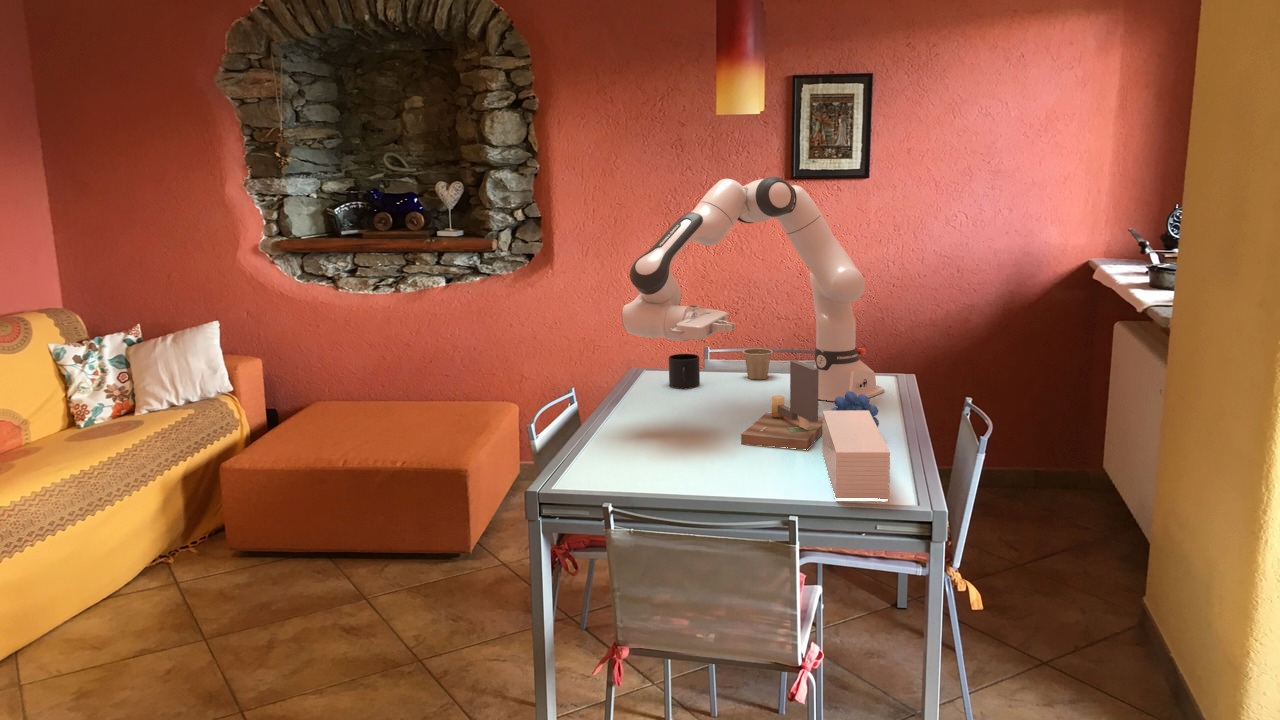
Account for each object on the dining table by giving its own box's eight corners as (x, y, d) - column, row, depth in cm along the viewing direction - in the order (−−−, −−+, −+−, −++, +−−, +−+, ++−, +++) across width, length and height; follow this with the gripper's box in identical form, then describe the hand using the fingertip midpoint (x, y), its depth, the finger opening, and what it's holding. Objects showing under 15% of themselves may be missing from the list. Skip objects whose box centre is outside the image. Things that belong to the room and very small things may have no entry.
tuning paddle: (769, 414, 252) (769, 354, 248) (780, 413, 253) (780, 353, 249) (809, 435, 233) (809, 370, 229) (820, 433, 234) (821, 368, 230)
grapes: (832, 443, 236) (832, 395, 233) (830, 435, 242) (830, 388, 240) (880, 443, 234) (881, 395, 232) (877, 435, 241) (878, 388, 238)
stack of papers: (888, 502, 196) (890, 452, 193) (835, 502, 197) (836, 452, 195) (868, 454, 227) (868, 410, 225) (822, 454, 228) (822, 410, 226)
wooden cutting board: (766, 421, 256) (766, 411, 255) (828, 427, 249) (828, 417, 248) (741, 443, 237) (741, 433, 236) (806, 450, 230) (807, 439, 230)
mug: (668, 391, 292) (667, 362, 290) (669, 381, 303) (669, 353, 301) (699, 390, 291) (699, 361, 289) (699, 381, 303) (699, 353, 301)
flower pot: (778, 376, 305) (778, 350, 304) (761, 382, 299) (761, 355, 297) (754, 373, 312) (753, 347, 310) (736, 378, 305) (736, 352, 303)
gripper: (665, 318, 234) (719, 323, 229) (696, 304, 252) (746, 307, 247) (665, 344, 236) (719, 349, 230) (696, 327, 254) (746, 331, 248)
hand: (733, 327), depth 239 cm, fingers closed
